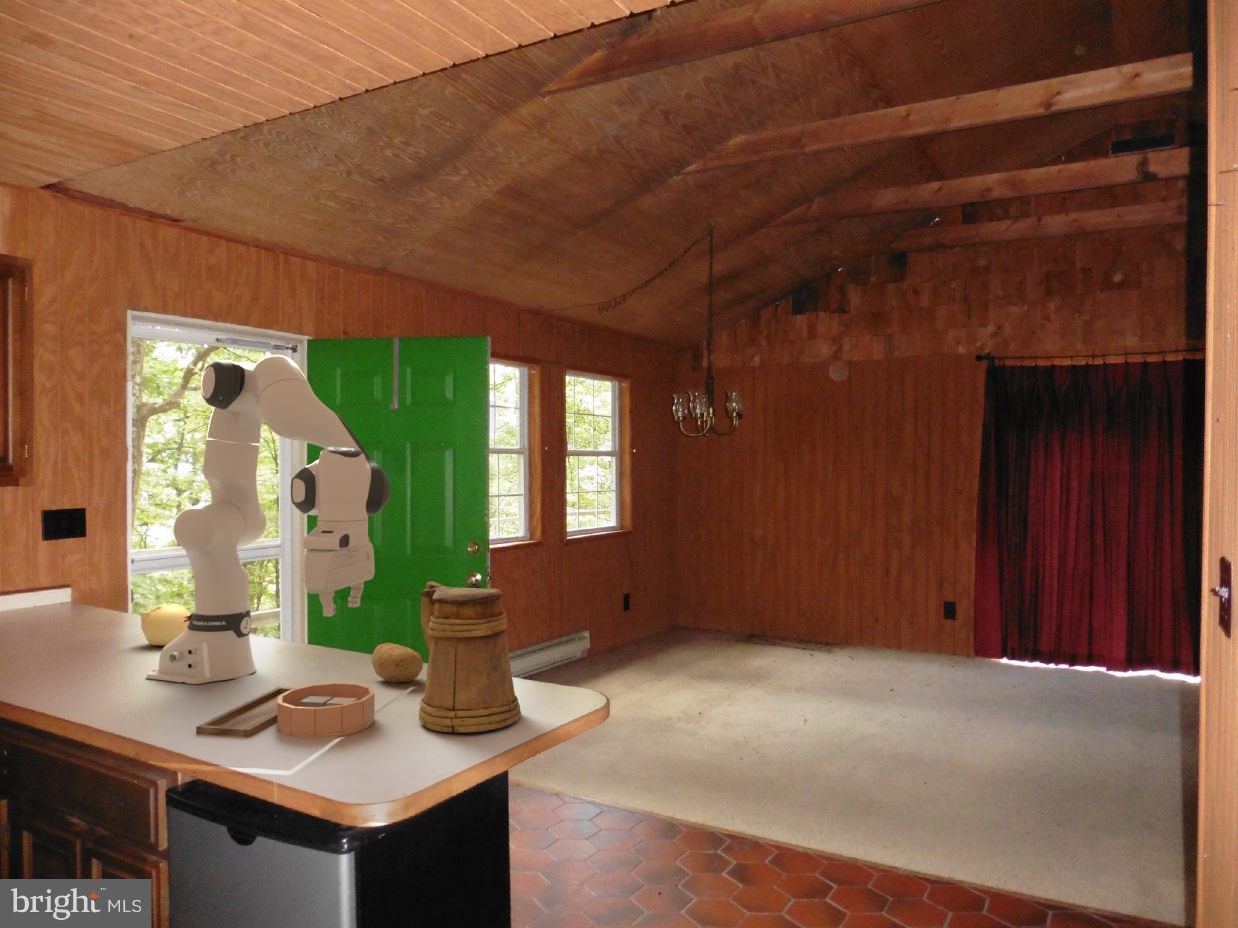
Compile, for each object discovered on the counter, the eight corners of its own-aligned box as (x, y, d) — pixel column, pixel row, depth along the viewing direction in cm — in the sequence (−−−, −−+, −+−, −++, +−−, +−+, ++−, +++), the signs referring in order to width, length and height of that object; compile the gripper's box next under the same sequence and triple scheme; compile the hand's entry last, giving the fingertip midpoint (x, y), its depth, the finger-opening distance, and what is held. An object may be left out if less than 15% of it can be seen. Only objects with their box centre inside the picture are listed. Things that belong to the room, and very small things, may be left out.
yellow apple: (179, 637, 224) (179, 598, 224) (201, 643, 217) (202, 602, 217) (134, 645, 215) (134, 603, 215) (156, 651, 208) (156, 608, 208)
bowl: (258, 737, 144) (258, 705, 144) (307, 709, 161) (307, 680, 161) (347, 742, 142) (348, 710, 142) (388, 713, 158) (388, 684, 158)
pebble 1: (300, 721, 150) (300, 701, 150) (310, 715, 154) (310, 695, 154) (322, 722, 150) (322, 702, 150) (332, 716, 153) (332, 696, 153)
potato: (395, 692, 173) (395, 654, 172) (361, 680, 182) (361, 644, 182) (435, 683, 180) (435, 647, 180) (400, 672, 189) (400, 637, 189)
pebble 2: (325, 722, 149) (325, 702, 149) (335, 716, 153) (335, 697, 153) (348, 723, 149) (348, 703, 149) (357, 717, 152) (357, 698, 152)
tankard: (472, 743, 142) (473, 598, 142) (381, 718, 155) (382, 586, 155) (539, 717, 157) (540, 586, 157) (451, 696, 170) (452, 575, 170)
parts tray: (196, 737, 144) (196, 726, 144) (278, 695, 170) (278, 686, 170) (249, 740, 143) (249, 729, 143) (323, 697, 168) (323, 688, 168)
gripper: (352, 530, 162) (352, 601, 162) (297, 540, 141) (297, 620, 141) (383, 531, 161) (382, 602, 161) (332, 541, 140) (331, 622, 140)
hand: (342, 611), depth 151 cm, fingers open, 8 cm apart
